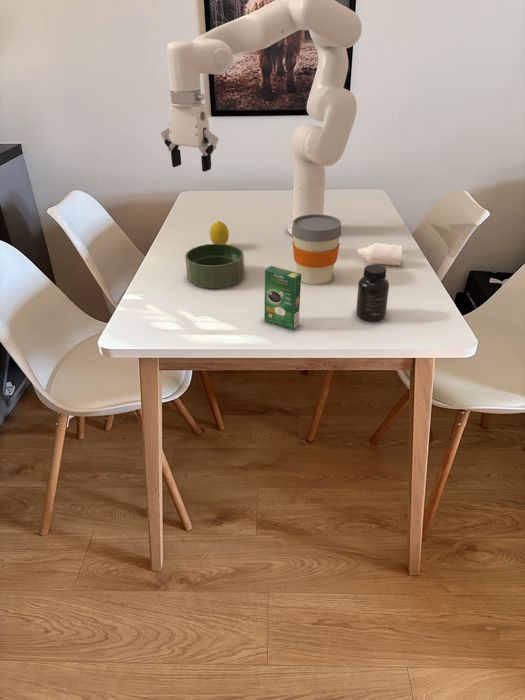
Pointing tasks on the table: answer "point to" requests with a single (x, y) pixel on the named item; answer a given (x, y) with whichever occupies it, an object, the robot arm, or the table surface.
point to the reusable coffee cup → (316, 246)
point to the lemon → (219, 233)
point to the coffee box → (282, 297)
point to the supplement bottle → (372, 294)
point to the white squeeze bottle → (382, 254)
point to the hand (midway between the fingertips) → (191, 168)
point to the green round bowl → (215, 265)
